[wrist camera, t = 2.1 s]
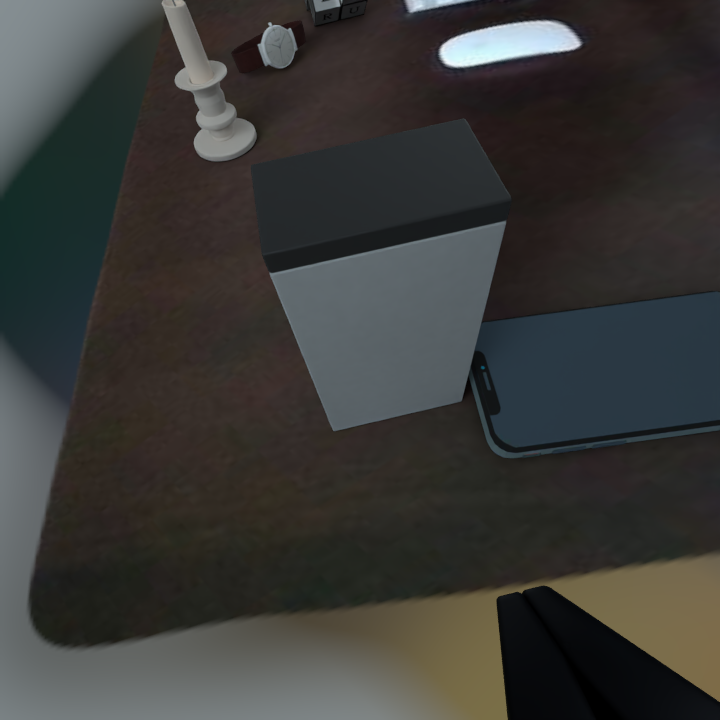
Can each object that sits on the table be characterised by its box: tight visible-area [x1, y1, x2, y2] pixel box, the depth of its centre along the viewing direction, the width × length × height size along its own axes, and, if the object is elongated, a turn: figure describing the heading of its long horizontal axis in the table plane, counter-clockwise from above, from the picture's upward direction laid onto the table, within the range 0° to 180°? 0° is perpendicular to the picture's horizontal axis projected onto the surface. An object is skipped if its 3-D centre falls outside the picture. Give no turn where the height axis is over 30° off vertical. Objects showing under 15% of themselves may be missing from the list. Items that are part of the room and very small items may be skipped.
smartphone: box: [468, 291, 720, 458], centre depth 23 cm, size 8×2×15 cm
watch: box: [231, 21, 306, 73], centre depth 41 cm, size 8×5×4 cm, turn 131°
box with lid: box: [251, 119, 512, 431], centre depth 19 cm, size 4×7×13 cm, turn 102°
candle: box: [162, 0, 257, 162], centre depth 33 cm, size 5×5×10 cm
